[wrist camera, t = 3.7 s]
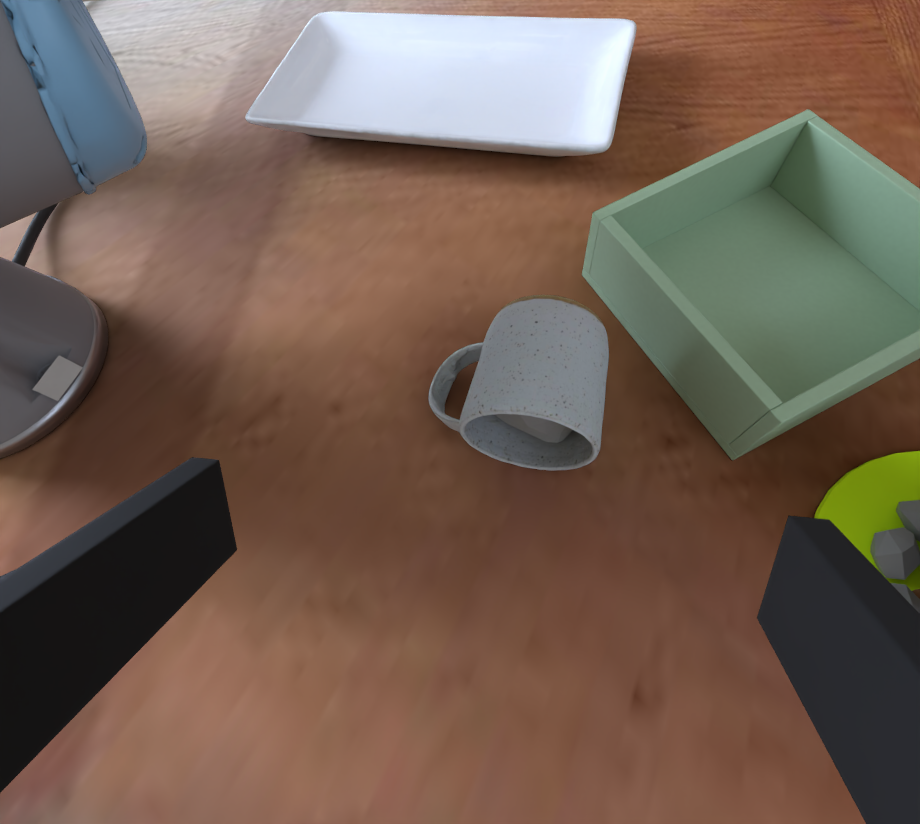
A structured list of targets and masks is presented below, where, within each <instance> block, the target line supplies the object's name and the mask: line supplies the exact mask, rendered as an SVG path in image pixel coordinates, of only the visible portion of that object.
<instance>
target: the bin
mask: <svg viewBox="0 0 920 824" xmlns="http://www.w3.org/2000/svg"><path fill="white" fill-rule="evenodd" d="M582 276H583V277H584V278H585V279H586V281H587V282H588V283H589V284H590V286H591V287H592V288H593V289H594V291H595V292H596V293H597V294H598V296H599V297H600V298H601V299H602V300H603V302H604V303H605V304H606V305H607V307H608V308H609V309H610V310H611V312H612V313H613V314H614V315H615V316H616V318H617V319H618V320H619V321H620V323H621V324H622V325H623V326H624V328H625V329H626V330H627V331H628V333H629V334H630V335H631V336H632V337H633V339H634V340H635V341H636V342H637V344H638V345H639V346H640V347H641V349H642V350H643V351H644V352H645V353H646V355H647V356H648V357H649V358H650V360H651V361H652V362H653V363H654V365H655V366H656V367H657V368H658V370H659V371H660V372H661V373H662V374H663V376H664V377H665V378H666V379H667V381H668V382H669V383H670V384H671V386H672V387H673V388H674V389H675V390H676V392H677V393H678V394H679V395H680V397H681V398H682V399H683V400H684V402H685V403H686V404H687V405H688V407H689V408H690V409H691V410H692V411H693V413H694V414H695V415H696V416H697V418H698V419H699V420H700V421H701V423H702V424H703V425H704V426H705V427H706V429H707V430H708V431H709V432H710V434H711V435H712V436H713V437H714V439H715V440H716V441H717V442H718V444H719V445H720V446H721V447H722V448H723V450H724V451H725V452H726V453H727V455H728V456H729V457H730V458H731V460H735V459H736V458H738V457H740V456H742V455H744V454H746V453H747V452H749V451H751V450H753V449H755V448H757V447H758V446H760V445H762V444H764V443H766V442H768V441H769V440H771V439H773V438H775V437H777V436H779V435H780V434H782V433H784V432H786V431H788V430H790V429H791V428H793V427H795V426H797V425H799V424H800V423H802V422H804V421H806V420H808V419H810V418H811V417H813V416H815V415H817V414H819V413H821V412H822V411H824V410H826V409H828V408H830V407H832V406H833V405H835V404H837V403H839V402H841V401H843V400H844V399H846V398H848V397H850V396H852V395H854V394H855V393H857V392H859V391H861V390H863V389H864V388H866V387H868V386H870V385H872V384H874V383H875V382H877V381H879V380H881V379H883V378H885V377H886V376H888V375H890V374H892V373H894V372H896V371H897V370H899V369H901V368H903V367H905V366H907V365H908V364H910V363H912V362H914V361H916V360H918V359H919V358H920V189H919V188H918V187H916V186H915V185H913V184H912V183H911V182H909V181H908V180H906V179H905V178H904V177H902V176H901V175H899V174H898V173H897V172H895V171H894V170H892V169H891V168H890V167H888V166H887V165H885V164H884V163H883V162H881V161H880V160H878V159H877V158H876V157H874V156H873V155H871V154H870V153H869V152H867V151H866V150H864V149H863V148H862V147H860V146H859V145H857V144H856V143H855V142H853V141H852V140H850V139H849V138H848V137H846V136H845V135H843V134H842V133H841V132H839V131H838V130H836V129H835V128H834V127H832V126H831V125H829V124H828V123H827V122H825V121H824V120H822V119H821V118H820V117H818V116H817V115H816V114H815V113H813V112H812V111H810V110H809V109H808V110H806V111H804V112H802V113H799V114H797V115H795V116H793V117H791V118H789V119H787V120H785V121H783V122H781V123H779V124H776V125H774V126H772V127H770V128H768V129H766V130H764V131H762V132H760V133H758V134H756V135H754V136H751V137H749V138H747V139H745V140H743V141H741V142H739V143H737V144H735V145H733V146H731V147H728V148H726V149H724V150H722V151H720V152H718V153H716V154H714V155H712V156H710V157H708V158H705V159H703V160H701V161H699V162H697V163H695V164H693V165H691V166H689V167H687V168H685V169H682V170H680V171H678V172H676V173H674V174H672V175H670V176H668V177H666V178H664V179H662V180H659V181H657V182H655V183H653V184H651V185H649V186H647V187H645V188H643V189H641V190H639V191H637V192H634V193H632V194H630V195H628V196H626V197H624V198H622V199H620V200H618V201H616V202H614V203H611V204H609V205H607V206H605V207H603V208H601V209H599V210H597V211H595V212H593V215H592V220H591V226H590V232H589V237H588V243H587V248H586V254H585V260H584V265H583V271H582Z"/></svg>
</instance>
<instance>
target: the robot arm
mask: <svg viewBox="0 0 920 824" xmlns="http://www.w3.org/2000/svg"><path fill="white" fill-rule="evenodd" d="M146 150H147V136H146V131H145V127H144V124H143V121H142V118H141V116H140V113H139V111H138V108H137V106H136V104H135V102H134V99H133V97H132V95H131V93H130V91H129V89H128V87H127V85H126V83H125V81H124V79H123V77H122V75H121V73H120V71H119V69H118V67H117V65H116V63H115V61H114V59H113V57H112V55H111V53H110V51H109V49H108V47H107V45H106V44H105V42H104V40H103V38H102V36H101V34H100V32H99V30H98V29H97V27H96V25H95V23H94V21H93V19H92V18H91V16H90V14H89V12H88V10H87V9H86V7H85V5H84V3H83V1H82V0H0V228H2V227H4V226H6V225H8V224H11V223H13V222H15V221H17V220H20V219H22V218H24V217H27V216H29V215H31V214H33V213H36V212H37V213H36V215H35V216H34V218H33V220H32V222H31V223H30V225H29V227H28V229H27V231H26V233H25V235H24V237H23V239H22V241H21V243H20V245H19V247H18V249H17V251H16V254H15V256H14V258H13V260H12V261H9V260H6V259H4V258H1V257H0V458H3V457H6V456H9V455H11V454H13V453H16V452H18V451H20V450H22V449H24V448H26V447H28V446H30V445H32V444H33V443H35V442H37V441H38V440H40V439H41V438H43V437H44V436H46V435H47V434H48V433H50V432H51V431H52V430H54V429H55V428H56V427H57V426H59V425H60V424H61V423H62V422H63V421H64V420H65V419H66V418H67V417H68V416H69V415H70V414H71V413H72V412H73V411H74V410H75V409H76V408H77V407H78V405H79V404H80V403H81V402H82V401H83V399H84V398H85V397H86V395H87V394H88V392H89V391H90V389H91V388H92V386H93V385H94V383H95V381H96V379H97V377H98V375H99V373H100V371H101V368H102V366H103V363H104V360H105V357H106V352H107V347H108V328H107V323H106V320H105V317H104V315H103V313H102V311H101V310H100V308H99V307H98V306H97V305H96V304H95V303H94V302H93V301H92V300H91V299H89V298H88V297H87V296H85V295H84V294H83V293H81V292H80V291H79V290H77V289H76V288H74V287H72V286H70V285H68V284H67V283H65V282H63V281H61V280H59V279H57V278H54V277H52V276H47V275H43V274H41V273H39V272H36V271H34V270H32V269H29V268H27V267H25V265H26V262H27V260H28V258H29V256H30V253H31V251H32V249H33V247H34V244H35V242H36V240H37V238H38V236H39V234H40V232H41V230H42V228H43V226H44V224H45V223H46V221H47V219H48V218H49V216H50V214H51V213H52V211H53V210H54V208H55V207H56V206H57V204H58V203H59V202H61V201H63V200H65V199H68V198H70V197H72V196H74V195H77V194H79V193H81V192H83V191H84V192H85V193H86V194H92V193H94V192H95V191H96V187H97V186H98V185H100V184H102V183H104V182H106V181H108V180H110V179H112V178H114V177H116V176H118V175H120V174H122V173H124V172H126V171H128V170H130V169H132V168H134V167H135V166H137V165H138V164H139V163H140V162H141V161H142V159H143V158H144V156H145V153H146ZM236 550H237V547H236V542H235V537H234V532H233V527H232V522H231V517H230V512H229V507H228V502H227V497H226V492H225V487H224V482H223V477H222V472H221V467H220V462H219V460H215V459H204V458H194V457H192V458H190V459H189V460H187V461H186V462H184V463H182V464H181V465H179V466H178V467H176V468H175V469H173V470H171V471H170V472H168V473H167V474H165V475H164V476H162V477H160V478H159V479H157V480H156V481H154V482H153V483H151V484H150V485H148V486H146V487H145V488H143V489H142V490H140V491H139V492H137V493H135V494H134V495H132V496H131V497H129V498H128V499H126V500H124V501H123V502H121V503H120V504H118V505H117V506H115V507H113V508H112V509H110V510H109V511H107V512H106V513H104V514H103V515H101V516H99V517H98V518H96V519H95V520H93V521H92V522H90V523H88V524H87V525H85V526H84V527H82V528H81V529H79V530H77V531H76V532H74V533H73V534H71V535H70V536H68V537H66V538H65V539H63V540H62V541H60V542H59V543H57V544H56V545H54V546H52V547H51V548H49V549H48V550H46V551H45V552H43V553H41V554H40V555H38V556H37V557H35V558H34V559H32V560H30V561H29V562H27V563H26V564H24V565H23V566H21V567H19V568H18V569H16V570H14V571H11V572H9V573H7V574H5V575H3V576H0V792H1V791H2V790H3V789H4V788H5V787H6V786H7V785H8V784H9V783H10V782H11V781H12V780H13V779H14V778H15V777H16V776H17V775H18V774H19V773H20V772H21V771H22V770H23V769H24V768H25V767H26V766H27V765H28V764H29V763H30V762H31V761H32V760H33V759H34V758H35V757H36V756H37V755H38V754H39V752H40V751H41V750H42V749H43V748H44V747H45V746H46V745H47V744H48V743H49V742H50V741H51V740H52V739H53V738H54V737H55V736H56V735H57V734H58V733H59V732H60V731H61V730H62V729H63V728H64V727H65V726H66V725H67V724H68V723H69V722H70V721H71V720H72V719H73V718H74V717H75V716H76V715H77V714H78V712H79V711H80V710H81V709H82V708H83V707H84V706H85V705H86V704H87V703H88V702H89V701H90V700H91V699H92V698H93V697H94V696H95V695H96V694H97V693H98V692H99V691H100V690H101V689H102V688H103V687H104V686H105V685H106V684H107V683H108V682H109V681H110V680H111V679H112V678H113V677H114V676H115V675H116V674H117V673H118V671H119V670H120V669H121V668H122V667H123V666H124V665H125V664H126V663H127V662H128V661H129V660H130V659H131V658H132V657H133V656H134V655H135V654H136V653H137V652H138V651H139V650H140V649H141V648H142V647H143V646H144V645H145V644H146V643H147V642H148V641H149V640H150V639H151V638H152V637H153V636H154V635H155V634H156V633H157V631H158V630H159V629H160V628H161V627H162V626H163V625H164V624H165V623H166V622H167V621H168V620H169V619H170V618H171V617H172V616H173V615H174V614H175V613H176V612H177V611H178V610H179V609H180V608H181V607H182V606H183V605H184V604H185V603H186V602H187V601H188V600H189V599H190V598H191V597H192V596H193V595H194V594H195V593H196V591H197V590H198V589H199V588H200V587H201V586H202V585H203V584H204V583H205V582H206V581H207V580H208V579H209V578H210V577H211V576H212V575H213V574H214V573H215V572H216V571H217V570H218V569H219V568H220V567H221V566H222V565H223V564H224V563H225V562H226V561H227V560H228V559H229V558H230V557H231V556H232V555H233V554H234V553H235V551H236ZM757 619H758V621H759V623H760V625H761V626H762V628H763V630H764V632H765V634H766V636H767V638H768V640H769V642H770V643H771V645H772V647H773V649H774V651H775V653H776V655H777V657H778V658H779V660H780V662H781V664H782V666H783V668H784V670H785V672H786V674H787V675H788V677H789V679H790V681H791V683H792V685H793V687H794V689H795V690H796V692H797V694H798V696H799V698H800V700H801V702H802V704H803V706H804V707H805V709H806V711H807V713H808V715H809V717H810V719H811V721H812V722H813V724H814V726H815V728H816V730H817V732H818V734H819V736H820V738H821V739H822V741H823V743H824V745H825V747H826V749H827V751H828V753H829V755H830V756H831V758H832V760H833V762H834V764H835V766H836V768H837V770H838V771H839V773H840V775H841V777H842V779H843V781H844V783H845V785H846V787H847V788H848V790H849V792H850V794H851V796H852V798H853V800H854V802H855V803H856V805H857V807H858V809H859V811H860V813H861V815H862V817H863V819H864V820H865V822H866V824H920V613H919V612H918V611H917V610H916V609H915V608H914V607H913V606H912V605H911V604H910V603H909V602H908V601H907V600H906V599H905V598H904V597H903V596H902V595H901V594H900V593H899V592H898V590H897V589H896V588H895V587H894V586H893V585H892V584H891V583H890V582H889V581H888V580H887V579H886V578H885V577H884V576H883V575H882V574H881V573H880V572H879V571H878V570H877V569H876V568H875V567H874V565H873V564H872V563H871V562H870V561H869V560H868V559H867V558H866V557H865V556H864V555H863V554H862V553H861V552H860V551H859V550H858V549H857V548H856V547H855V546H854V545H853V544H852V543H851V542H850V540H849V539H848V538H847V537H846V536H845V535H844V534H843V533H842V532H841V531H840V530H839V529H838V528H837V527H836V526H835V525H834V524H833V523H832V522H831V521H830V520H828V519H818V518H808V517H797V516H788V519H787V522H786V526H785V529H784V532H783V535H782V539H781V542H780V545H779V548H778V552H777V555H776V558H775V561H774V564H773V568H772V571H771V574H770V577H769V581H768V584H767V587H766V590H765V594H764V597H763V600H762V603H761V607H760V610H759V613H758V616H757Z"/></svg>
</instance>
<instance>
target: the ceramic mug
mask: <svg viewBox="0 0 920 824" xmlns="http://www.w3.org/2000/svg"><path fill="white" fill-rule="evenodd" d="M477 361H479V362H478V365H477V368H476V371H475V374H474V377H473V380H472V383H471V386H470V389H469V392H468V395H467V398H466V401H465V404H464V407H463V410H462V413H461V417H460V420H459V419H455V418H453V417H450V416H448V415H446V414H445V406H444V405H445V402H446V399H447V396H448V393H449V391H450V388H451V386H452V384H453V382H454V380H455V379H456V376H457V374H458V373H459V372H460V371H461V370H462V369H463V368H465V367H466V366H468V365H470V364H472V363H474V362H477ZM608 361H609V349H608V338H607V333H606V329H605V327H604V325H603V323H602V321H601V320H600V318H599V317H598V316H597V315H596V314H595V313H594V312H593V311H591V310H590V309H589V308H587V307H586V306H584V305H582V304H580V303H579V302H577V301H575V300H572V299H568V298H565V297H560V296H555V295H532V296H527V297H522V298H520V299H517V300H514V301H512V302H510V303H509V304H507V305H506V306H504V307H503V308H502V309H501V310H500V311H499V312H498V314H497V315H496V317H495V318H494V320H493V322H492V324H491V325H490V327H489V329H488V331H487V334H486V337H485V340H484V342H481V343H476V344H471V345H468V346H466V347H464V348H461V349H459V350H457V351H456V352H454V353H453V354H452V355H451V356H449V357H448V358H447V359H446V360H445V361H444V362H443V363H442V365H441V366H440V368H439V369H438V371H437V372H436V374H435V376H434V378H433V380H432V383H431V386H430V390H429V404H430V407H431V409H432V411H433V412H434V414H435V415H436V416H437V417H438V418H439V419H440V420H441V421H442V422H444V423H445V424H446V425H447V426H448V427H450V428H451V429H453V430H456V431H458V432H460V434H461V436H462V437H463V439H464V440H465V441H466V442H467V443H468V444H469V445H470V446H472V447H473V448H475V449H477V450H478V451H480V452H482V453H483V454H486V455H488V456H490V457H492V458H494V459H497V460H499V461H502V462H507V463H510V464H514V465H517V466H521V467H526V468H533V469H539V470H554V471H555V470H569V469H576V468H580V467H582V466H585V465H588V464H589V463H591V462H592V461H593V460H594V459H595V458H596V457H597V455H598V453H599V450H600V445H601V435H602V422H603V414H604V404H605V391H606V378H607V370H608Z"/></svg>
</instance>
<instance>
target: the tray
mask: <svg viewBox="0 0 920 824" xmlns="http://www.w3.org/2000/svg"><path fill="white" fill-rule="evenodd" d="M635 35H636V24H635V22H634V21H631V20H627V19H613V18H609V19H599V18H545V17H507V16H465V15H433V14H403V13H367V12H322V13H319V14H317V15H315V16H314V17H313V18H312V19H311V20H310V21H309V22H308V24H307V25H306V27H305V28H304V30H303V31H302V33H301V34H300V36H299V37H298V39H297V40H296V42H295V43H294V44H293V46H292V47H291V49H290V50H289V52H288V53H287V55H286V56H285V58H284V59H283V61H282V62H281V63H280V65H279V66H278V68H277V69H276V71H275V72H274V74H273V75H272V77H271V78H270V80H269V82H268V83H267V84H266V86H265V87H264V89H263V90H262V91H261V93H260V94H259V96H258V97H257V99H256V100H255V102H254V103H253V105H252V106H251V108H250V109H249V111H248V113H247V114H246V120H247V121H248V122H249V123H251V124H255V125H260V126H264V127H268V128H273V129H278V130H284V131H292V132H301V133H305V134H308V135H313V136H322V137H334V138H347V139H359V140H371V141H384V142H395V143H407V144H418V145H430V146H441V147H453V148H464V149H475V150H486V151H497V152H508V153H519V154H530V155H542V156H553V157H562V156H582V155H590V154H597V153H602V152H604V151H606V150H607V149H608V148H609V147H610V145H611V143H612V139H613V136H614V132H615V127H616V121H617V116H618V111H619V106H620V100H621V95H622V91H623V86H624V82H625V77H626V73H627V68H628V64H629V60H630V56H631V52H632V48H633V44H634V40H635Z"/></svg>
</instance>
